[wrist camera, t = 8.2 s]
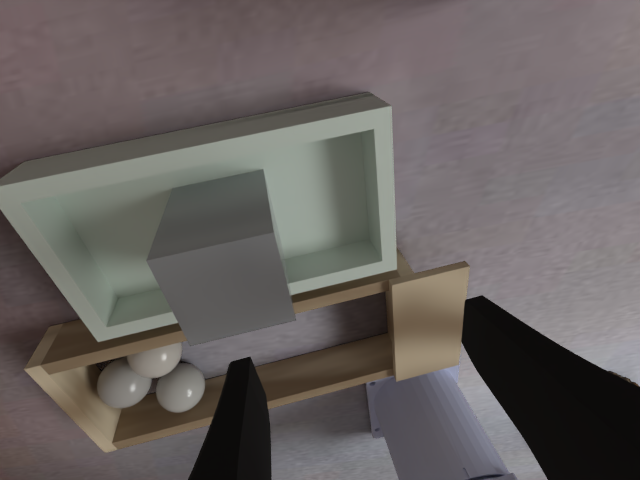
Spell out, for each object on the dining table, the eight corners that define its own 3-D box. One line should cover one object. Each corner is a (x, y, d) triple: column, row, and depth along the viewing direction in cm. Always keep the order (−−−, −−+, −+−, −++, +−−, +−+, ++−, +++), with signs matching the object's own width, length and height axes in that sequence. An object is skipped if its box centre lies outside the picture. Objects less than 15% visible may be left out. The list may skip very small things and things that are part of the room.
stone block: (281, 243, 20) (296, 320, 15) (202, 260, 20) (190, 346, 15) (263, 169, 18) (274, 232, 13) (172, 188, 17) (146, 261, 12)
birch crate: (435, 327, 28) (458, 364, 25) (117, 410, 26) (102, 461, 23) (440, 233, 23) (469, 266, 20) (49, 326, 21) (19, 377, 18)
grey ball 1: (163, 370, 25) (155, 411, 22) (118, 381, 24) (104, 424, 22) (144, 341, 23) (133, 381, 20) (96, 353, 23) (79, 395, 20)
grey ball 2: (212, 376, 26) (209, 415, 23) (170, 386, 26) (162, 427, 23) (198, 348, 24) (193, 387, 22) (153, 360, 24) (143, 400, 21)
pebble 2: (191, 342, 24) (186, 381, 21) (145, 354, 23) (134, 394, 21) (174, 309, 22) (167, 348, 20) (125, 322, 22) (110, 362, 19)
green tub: (379, 240, 22) (397, 269, 20) (114, 302, 21) (98, 342, 18) (369, 92, 17) (391, 105, 15) (24, 161, 16) (-15, 189, 14)
